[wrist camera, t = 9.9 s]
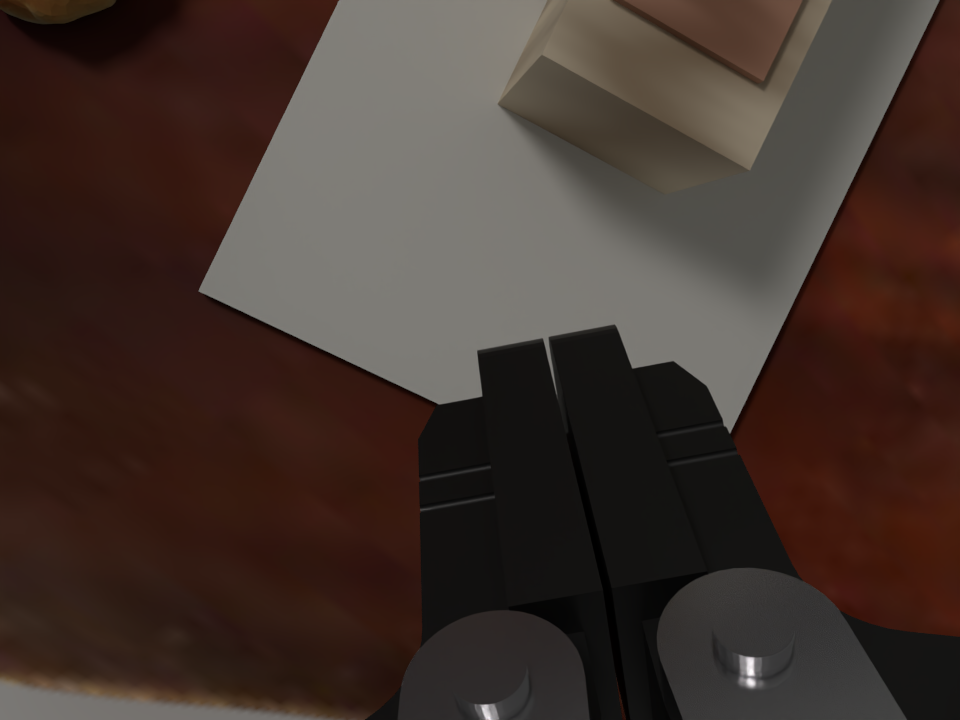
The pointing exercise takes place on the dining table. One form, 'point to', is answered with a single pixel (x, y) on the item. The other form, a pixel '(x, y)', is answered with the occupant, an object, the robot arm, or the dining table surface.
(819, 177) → the grey mat
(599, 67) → the maple block
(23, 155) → the dining table surface
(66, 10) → the pastry
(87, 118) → the dining table surface
